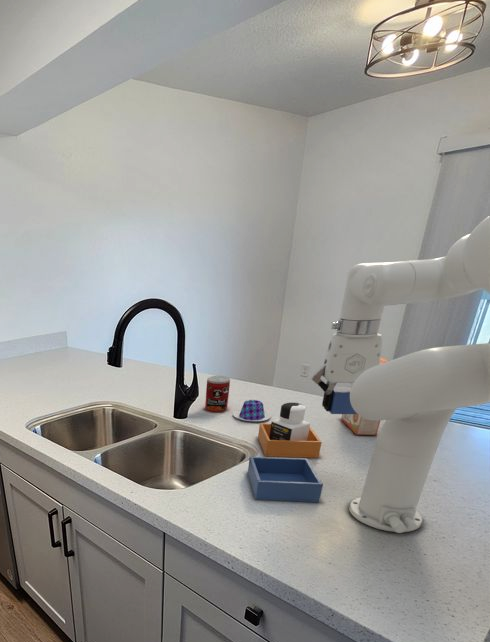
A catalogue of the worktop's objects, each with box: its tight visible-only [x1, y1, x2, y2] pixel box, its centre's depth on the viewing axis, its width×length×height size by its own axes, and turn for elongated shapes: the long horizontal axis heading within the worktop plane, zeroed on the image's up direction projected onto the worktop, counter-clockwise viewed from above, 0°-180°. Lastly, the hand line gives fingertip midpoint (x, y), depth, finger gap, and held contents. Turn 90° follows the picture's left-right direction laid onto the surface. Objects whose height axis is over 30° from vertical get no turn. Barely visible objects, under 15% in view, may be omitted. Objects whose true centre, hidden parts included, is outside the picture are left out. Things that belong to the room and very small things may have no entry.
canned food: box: [204, 375, 231, 413], centre depth 152 cm, size 8×8×11 cm
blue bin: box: [247, 456, 324, 503], centre depth 102 cm, size 13×13×5 cm
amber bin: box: [257, 422, 322, 459], centre depth 122 cm, size 13×13×5 cm
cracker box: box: [340, 356, 389, 436], centre depth 128 cm, size 14×6×21 cm, turn 168°
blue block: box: [328, 386, 356, 415], centre depth 99 cm, size 5×5×5 cm
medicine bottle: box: [269, 402, 311, 441], centre depth 120 cm, size 7×7×12 cm
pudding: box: [232, 399, 272, 422], centre depth 145 cm, size 12×12×5 cm
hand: (340, 409), depth 100 cm, fingers closed on blue block, 5 cm apart
